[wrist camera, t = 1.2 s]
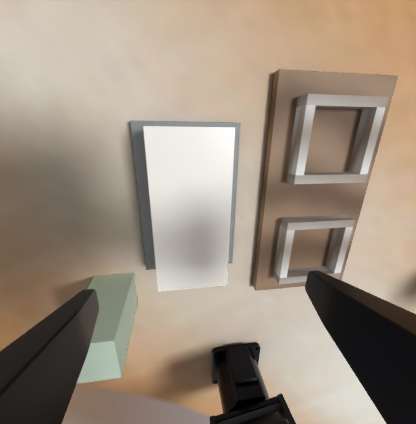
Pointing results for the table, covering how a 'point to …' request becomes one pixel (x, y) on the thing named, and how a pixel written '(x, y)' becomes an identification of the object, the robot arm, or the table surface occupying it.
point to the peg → (110, 327)
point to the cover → (190, 203)
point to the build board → (316, 171)
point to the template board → (144, 187)
